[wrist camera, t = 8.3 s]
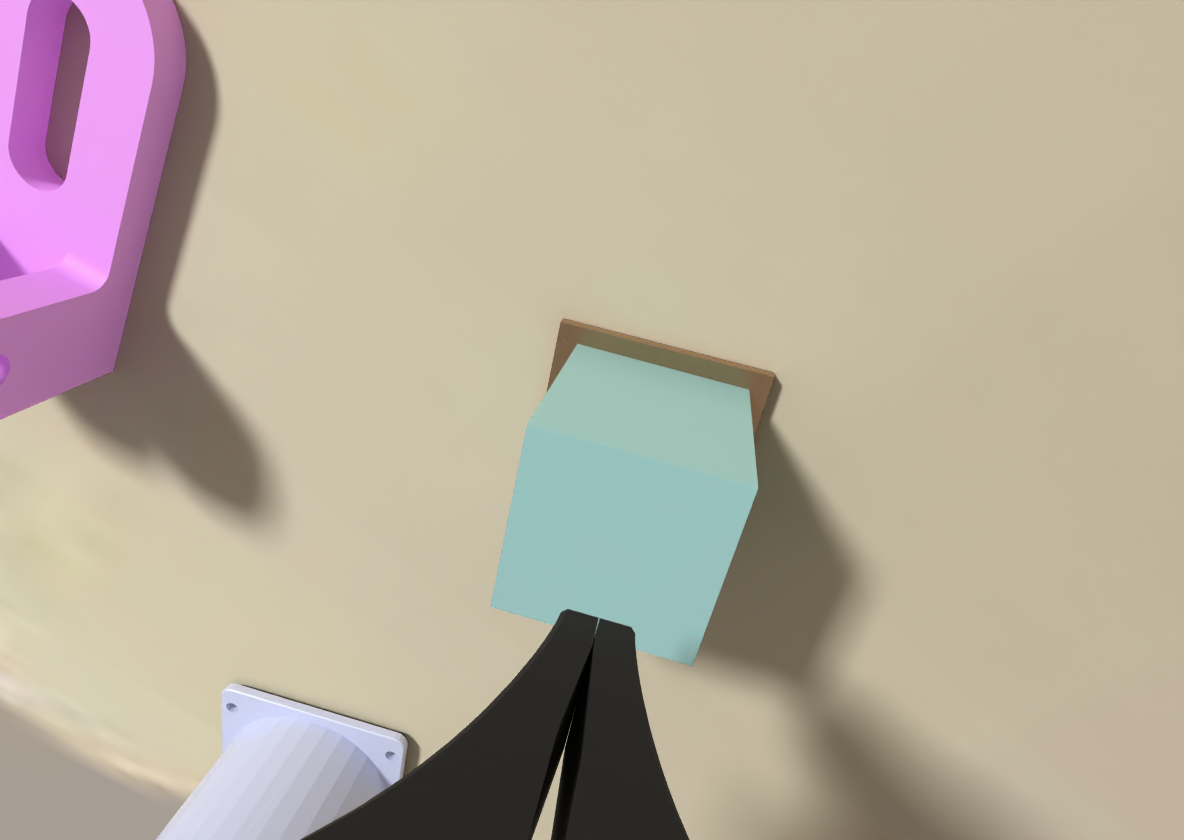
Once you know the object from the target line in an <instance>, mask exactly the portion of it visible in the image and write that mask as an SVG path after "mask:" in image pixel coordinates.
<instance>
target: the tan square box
mask: <svg viewBox="0 0 1184 840" xmlns="http://www.w3.org/2000/svg"><path fill="white" fill-rule="evenodd" d="M577 344H581V345H584V346H588V347H592V348H595V349H599V350H603V351H607V352H610V353H614V354H618V355H622V356H625V357H629V358H633V359H636V360H640V361H644V362H648V363H651V364H655V365H659V366H663V367H666V368H670V369H674V370H677V371H681V372H685V373H689V374H692V375H696V376H700V377H704V378H707V379H711V380H715V381H718V382H722V383H726V384H730V385H733V386H737V387H741V388H744V389H748V390H749V393H750V404H751V415H752V425H753V436H755V433H756V430H757V427H758V424H759V422H760V419H761V416H762V413H763V410H764V407H765V404H766V401H767V398H768V396H769V393H770V390H771V387H772V384H773V381H774V378H775V376H774V373H773V372H770V371H766V370H762V369H758V368H754V367H750V366H746V365H742V364H738V363H735V362H731V361H727V360H723V359H719V358H715V357H711V356H707V355H704V354H700V353H696V352H692V351H688V350H684V349H680V348H676V347H672V346H669V345H665V344H661V343H657V342H653V341H649V340H645V339H641V338H638V337H634V336H630V335H626V334H622V333H618V332H614V331H610V330H606V329H603V328H599V327H595V326H591V325H587V324H583V323H579V322H575V321H572V320H568V319H564V318H563V320H562V321H561V323H560V328H559V333H558V338H557V343H556V348H555V353H554V358H553V363H552V368H551V373H550V378H549V383H548V388H547V392H548V390H549V389H550V387H551V385H552V384H553V382H554V381H555V379H556V377H557V376H558V374H559V373H560V371H561V369H562V368H563V366H564V365H565V363H566V361H567V360H568V358H569V357H570V355H571V353H572V352H573V350H574V349H575V347H576V345H577Z"/></svg>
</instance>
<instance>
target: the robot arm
mask: <svg viewBox="0 0 1184 840" xmlns="http://www.w3.org/2000/svg"><path fill="white" fill-rule="evenodd" d="M598 619H599V618H598V617H595V616H591V615H588V614H584V613H581V612H577V611H574V610H570V609H567V610H564V611H562V612H561V613H560V615H559V617H558V619H557V621H556V623H555V625H554V626H553V628H552V630H551V631H550V633H549V634H548V636H547V637H546V639H545V640H544V642H543V643H542V644H541V646H540V647H539V648H538V650H537V651H536V653H535V654H534V655H533V656H532V658H531V659H530V660H529V661H528V662H527V664H526V665H525V666H524V667H523V668H522V670H521V671H520V672H519V673H518V675H517V676H516V677H515V678H514V679H513V680H512V681H511V683H510V684H509V685H508V686H507V687H506V688H505V689H504V690H503V691H502V692H501V693H500V694H499V695H498V696H497V697H496V698H495V699H494V700H493V702H492V703H491V704H490V705H489V706H488V707H487V708H486V709H485V710H484V711H483V712H482V713H481V714H480V715H479V716H478V717H476V718H475V719H474V720H473V721H472V722H471V723H470V724H469V725H468V726H467V727H466V728H465V729H463V730H462V731H461V732H460V733H459V734H458V735H457V736H455V737H454V738H453V739H452V740H451V741H450V742H448V743H447V744H446V745H445V746H444V747H442V748H441V749H440V750H439V751H437V752H436V753H435V754H433V755H432V756H431V757H430V758H428V759H427V760H426V761H425V762H423V763H422V764H421V765H419V766H418V767H417V768H415V769H414V770H413V771H411V772H410V773H409V774H407V775H406V776H404V777H403V773H404V766H405V759H406V752H407V745H408V744H407V740H406V738H405V737H404V736H403V735H402V734H400V733H398V732H395V731H391V730H388V729H385V728H381V727H378V726H375V725H371V724H368V723H365V722H361V721H358V720H355V719H352V718H348V717H345V716H342V715H338V714H335V713H332V712H328V711H325V710H322V709H318V708H315V707H312V706H308V705H305V704H302V703H299V702H295V701H292V700H289V699H285V698H282V697H279V696H275V695H272V694H269V693H265V692H262V691H259V690H255V689H252V688H249V687H246V686H242V685H239V684H229V685H228V686H227V687H226V688H225V689H224V691H223V692H222V755H221V756H220V758H219V759H218V760H217V761H216V763H215V764H214V765H213V767H212V768H211V769H210V770H209V772H208V773H207V774H206V776H205V777H204V778H203V779H202V781H201V782H200V783H199V785H198V786H197V787H196V788H195V790H194V791H193V792H192V794H191V795H190V796H189V797H188V799H187V800H186V801H185V803H184V804H183V805H182V806H181V808H180V809H179V810H178V812H177V813H176V814H175V815H174V817H173V818H172V819H171V821H170V822H169V823H168V824H167V826H166V827H165V828H164V830H163V831H162V832H161V833H160V835H159V836H158V837H157V839H156V840H532V837H533V834H534V831H535V828H536V826H537V823H538V820H539V817H540V814H541V812H542V809H543V806H544V803H545V800H546V798H547V795H548V792H549V789H550V786H551V784H552V781H553V778H554V775H555V772H556V769H557V767H558V764H559V761H560V758H561V755H562V753H563V750H564V747H565V752H564V758H563V765H562V771H561V778H560V784H559V791H558V797H557V804H556V810H555V817H554V823H553V830H552V837H551V840H689V838H688V836H687V833H686V831H685V828H684V826H683V824H682V821H681V819H680V817H679V814H678V812H677V809H676V807H675V804H674V801H673V799H672V796H671V794H670V791H669V788H668V785H667V782H666V780H665V777H664V774H663V771H662V768H661V764H660V761H659V758H658V754H657V751H656V748H655V745H654V741H653V737H652V734H651V730H650V726H649V722H648V718H647V713H646V709H645V705H644V700H643V696H642V691H641V685H640V679H639V673H638V666H637V658H636V646H635V632H634V631H633V629H632V627H630V626H626V625H623V624H619V623H616V622H612V621H609V620H605V619H602V618H600V619H599V623H598ZM597 624H598V626H597ZM596 628H597V630H596ZM595 633H596V634H595ZM574 710H575V711H574ZM573 714H574V715H573ZM572 718H573V719H572ZM571 721H572V723H571ZM570 725H571V727H570ZM569 729H570V731H569ZM568 732H569V735H568ZM567 736H568V738H567ZM566 739H567V742H566ZM565 743H566V746H565Z"/></svg>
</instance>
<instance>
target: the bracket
mask: <svg viewBox="0 0 1184 840" xmlns="http://www.w3.org/2000/svg"><path fill="white" fill-rule="evenodd" d="M73 3H74V4H75V5H76V6H77V7H78V8H79V10H80V11H81V12H82V14H83V16H84V18H85V20H86V22H87V25H88V28H89V32H90V51H89V56H88V62H87V67H86V73H85V78H84V83H83V89H82V94H81V100H80V105H79V111H78V116H77V121H76V127H75V132H74V138H73V143H72V149H71V154H70V159H69V165H68V170H67V175H66V179H65V181H64V180H63V179H61V178H60V177H59V176H58V175H57V173H56V172H55V171H54V170H53V168H52V166H51V165H50V163H49V160H48V158H47V154H46V149H45V141H46V135H47V129H48V123H49V117H50V111H51V105H52V99H53V93H54V87H55V81H56V75H57V69H58V63H59V57H60V51H61V45H62V39H63V33H64V27H65V21H66V16H67V12H68V10H69V8H70V6H71V5H72V4H73ZM185 73H186V47H185V39H184V34H183V29H182V25H181V21H180V18H179V15H178V12H177V9H176V6H175V4H174V2H173V0H0V419H3V418H5V417H7V416H10V415H12V414H14V413H17V412H19V411H21V410H24V409H26V408H28V407H31V406H33V405H35V404H38V403H40V402H42V401H45V400H47V399H49V398H52V397H54V396H56V395H59V394H61V393H63V392H66V391H68V390H70V389H73V388H75V387H77V386H80V385H82V384H84V383H87V382H89V381H91V380H94V379H96V378H98V377H101V376H103V375H105V374H108V373H110V372H112V371H114V366H115V362H116V358H117V354H118V350H119V346H120V342H121V338H122V334H123V330H124V326H125V322H126V318H127V314H128V309H129V305H130V301H131V297H132V293H133V289H134V285H135V281H136V277H137V273H138V269H139V265H140V261H141V257H142V253H143V248H144V244H145V240H146V236H147V232H148V228H149V224H150V220H151V216H152V212H153V208H154V204H155V200H156V196H157V191H158V187H159V183H160V179H161V175H162V171H163V167H164V163H165V159H166V155H167V151H168V147H169V143H170V139H171V134H172V130H173V126H174V122H175V118H176V114H177V110H178V106H179V102H180V98H181V94H182V90H183V85H184V80H185Z"/></svg>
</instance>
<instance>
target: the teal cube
mask: <svg viewBox="0 0 1184 840" xmlns="http://www.w3.org/2000/svg"><path fill="white" fill-rule="evenodd" d="M757 490H758V479H757V468H756V457H755V447H754V436H753V425H752V415H751V404H750V393H749V390H748V389H744V388H741V387H737V386H733V385H730V384H726V383H722V382H718V381H715V380H711V379H707V378H704V377H700V376H696V375H692V374H689V373H685V372H681V371H677V370H674V369H670V368H666V367H663V366H659V365H655V364H651V363H648V362H644V361H640V360H636V359H633V358H629V357H625V356H622V355H618V354H614V353H610V352H607V351H603V350H599V349H595V348H592V347H588V346H584V345H581V344H577V345H576V347H575V349H574V350H573V352H572V353H571V355H570V357H569V358H568V360H567V361H566V363H565V365H564V366H563V368H562V369H561V371H560V373H559V374H558V376H557V377H556V379H555V381H554V382H553V384H552V385H551V387H550V389H549V390H548V392H547V393H546V395H545V397H544V398H543V400H542V401H541V403H540V405H539V406H538V408H537V409H536V411H535V413H534V414H533V416H532V417H531V419H530V421H529V422H528V424H527V428H526V433H525V438H524V443H523V448H522V453H521V458H520V463H519V468H518V473H517V478H516V483H515V488H514V492H513V497H512V502H511V507H510V512H509V517H508V522H507V527H506V532H505V537H504V542H503V547H502V552H501V557H500V562H499V567H498V572H497V577H496V582H495V587H494V592H493V597H492V602H491V607H493V608H497V609H500V610H503V611H507V612H510V613H514V614H517V615H520V616H524V617H527V618H530V619H534V620H537V621H541V622H544V623H547V624H551V625H555V623H556V621H557V619H558V617H559V615H560V613H561V612H562V611H564V610H567V609H570V610H574V611H577V612H581V613H584V614H588V615H591V616H595V617H598V618H599V619H600V618H602V619H605V620H609V621H612V622H616V623H619V624H623V625H626V626H630V627H632V629H633V631H634V632H635V646H636V650H639V651H643V652H646V653H649V654H653V655H656V656H660V657H663V658H666V659H670V660H673V661H677V662H680V663H683V664H687V665H690V666H692V665H693V663H694V660H695V657H696V654H697V652H698V649H699V646H700V644H701V641H702V638H703V636H704V633H705V630H706V628H707V625H708V622H709V619H710V617H711V614H712V611H713V609H714V606H715V603H716V601H717V598H718V595H719V593H720V590H721V587H722V585H723V582H724V579H725V576H726V574H727V571H728V568H729V566H730V563H731V560H732V558H733V555H734V552H735V550H736V547H737V544H738V542H739V539H740V536H741V533H742V531H743V528H744V525H745V523H746V520H747V517H748V515H749V512H750V509H751V507H752V504H753V501H754V499H755V496H756V493H757ZM599 619H598V623H599ZM597 626H598V624H597ZM596 630H597V628H596ZM595 634H596V633H595Z"/></svg>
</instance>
